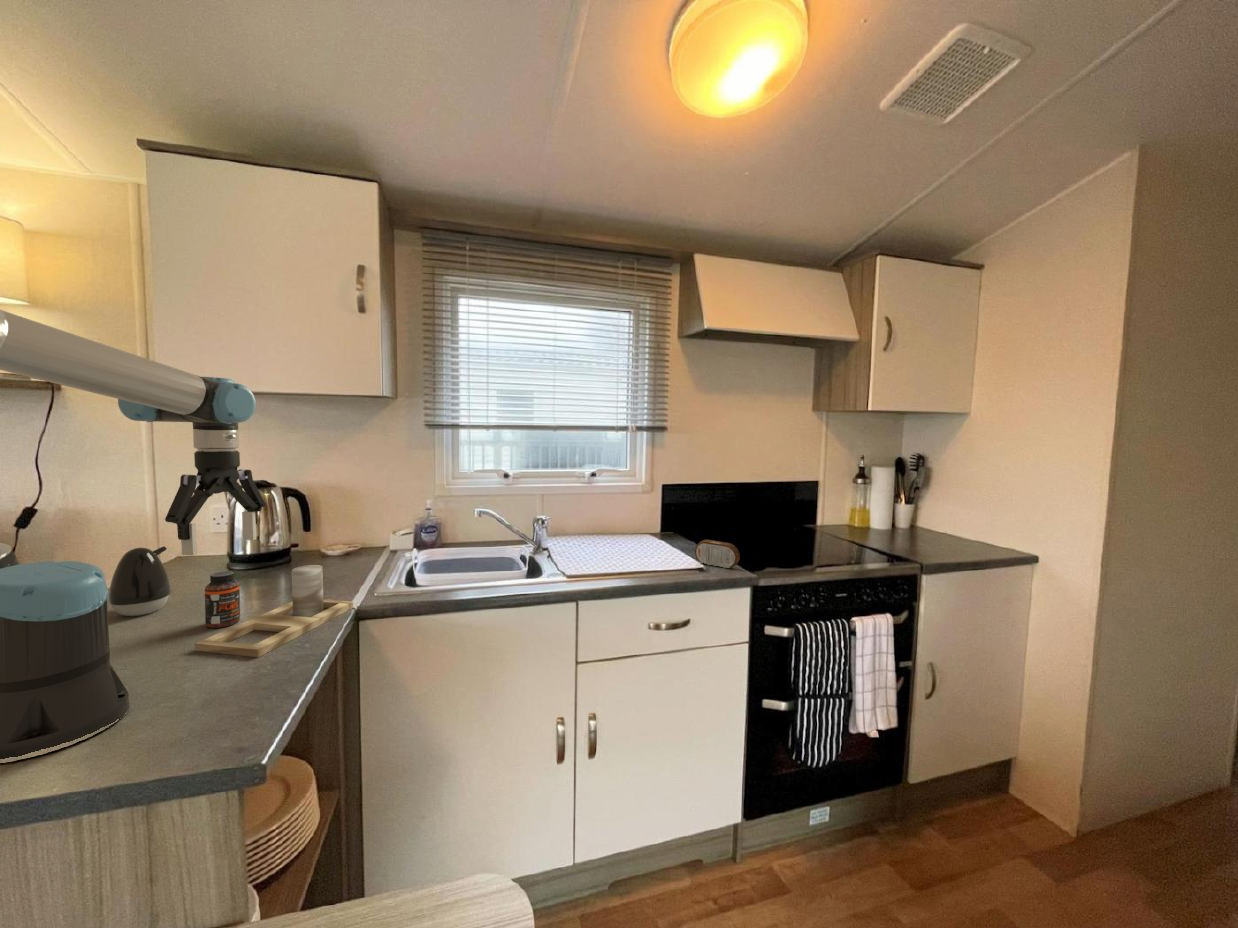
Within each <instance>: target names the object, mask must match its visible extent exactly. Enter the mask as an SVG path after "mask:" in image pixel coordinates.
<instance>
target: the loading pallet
mask: <svg viewBox="0 0 1238 928" xmlns="http://www.w3.org/2000/svg"><path fill="white" fill-rule="evenodd" d="M323 574H324V571H323V565H319V564H308V565H307V564H306V565H302V566H298V567H295V568H292V569H291V595H292V597H291V599H292V601H290V602H289V603H287V604H284V605H282V606H279V607H277V608H275V609H272V610H270V611H267V612H265V613H263V614H260V615H258V616H256V617H254V618H251V619H248V620H246V621H245V622H241V623H239V624H237V625H235V626H233V627H230V628H227V629H225V630H222V631H220V632H218V633H216V634H214V635H212V636H209V637H207V638H204V639H202V640H200V641H197V642H195V643H194V651H195V652H201V653H202V652H205V653H215V654H222V655H223V654H224V655H234V656H241V657H243V656H244V657H252V658H260V657H262V656H264V655H265V654H267V652H268V653H269V652H271V651H274V650H275V649H277V648H279V647H280V646H283V645H285V644H286V643H288V642H291V641H292V640H295V639H296V638H298V637H300V636H301V635H305V634H306V633H308V632H309V631H311V630H313V629H315V628H317V627H319V626H321V625H323V624H325V623H327V622H329V621H331V620H333V619H335V618H336V617H337V618H338V616H340V615H343V614H344V613H347V612H348V611H350V610H352V609H353V608H354V601H348V600H338V599H337V600H335V599H324V581H323V580H324V579H323V577H324V575H323ZM324 609H325V610H324ZM291 614H292V615H291ZM253 631H263V632H264V631H265V632H273V633H275V632H276V634H274V635H272V636H270V637H267V638H265V639H263V640H261V641H259V642H257V643H255V644H248V643H237V642H231V641H233V640H236V639H238V638H240V637H243V636H245V635H247V634H249V633H250V632H253Z"/></svg>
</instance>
